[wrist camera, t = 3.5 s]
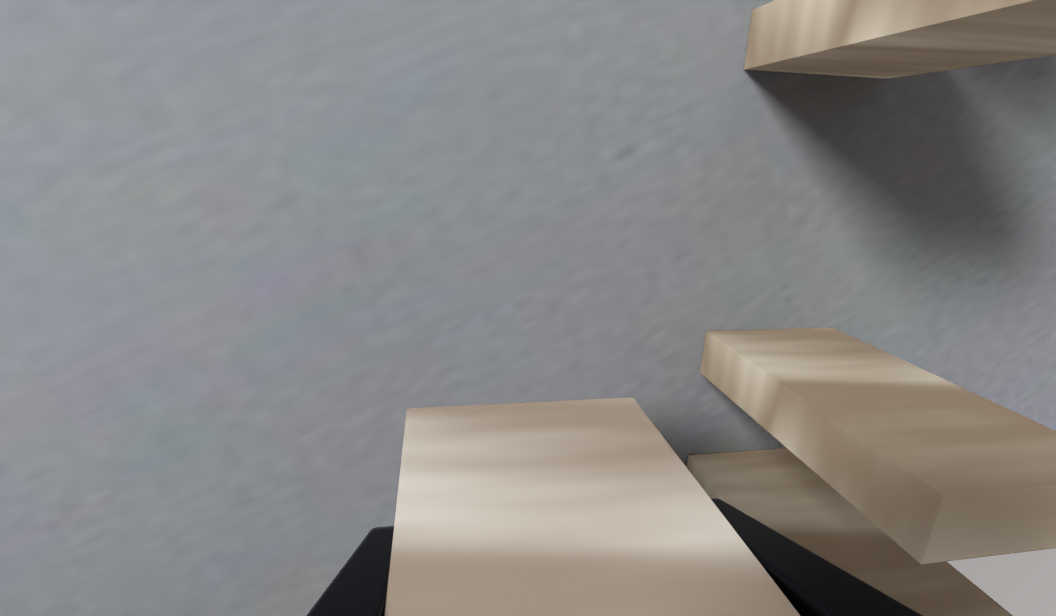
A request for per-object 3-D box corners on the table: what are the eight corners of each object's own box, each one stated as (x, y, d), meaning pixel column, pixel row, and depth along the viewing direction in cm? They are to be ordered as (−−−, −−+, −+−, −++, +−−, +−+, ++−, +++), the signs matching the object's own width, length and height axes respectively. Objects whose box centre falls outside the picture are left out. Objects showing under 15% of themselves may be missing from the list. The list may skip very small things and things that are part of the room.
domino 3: (823, 367, 19) (1121, 540, 11) (700, 372, 19) (921, 564, 10) (832, 327, 19) (1151, 475, 11) (706, 331, 18) (943, 495, 10)
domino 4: (798, 481, 21) (1044, 709, 12) (682, 491, 20) (863, 743, 12) (805, 446, 20) (1066, 659, 12) (688, 455, 20) (879, 691, 11)
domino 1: (626, 458, 12) (1051, 1169, 4) (409, 473, 11) (333, 1435, 3) (632, 397, 12) (1137, 1055, 3) (406, 408, 11) (307, 1333, 2)
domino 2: (887, 78, 16) (1364, 10, 8) (743, 69, 16) (1108, -19, 7) (899, 22, 16) (1419, -113, 8) (752, 9, 15) (1153, -159, 7)
